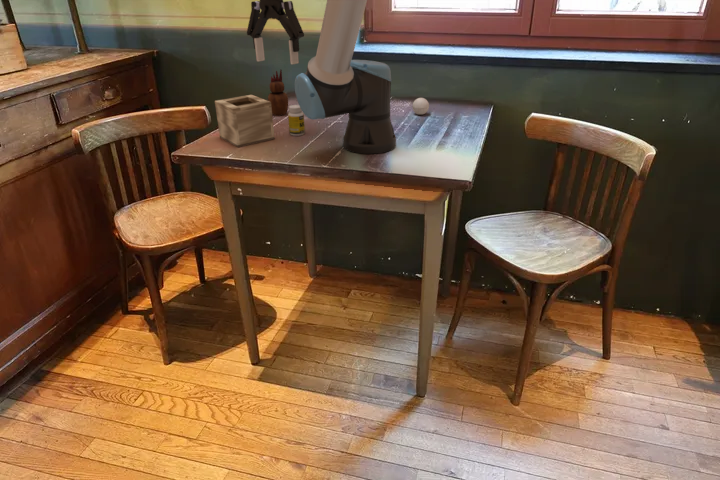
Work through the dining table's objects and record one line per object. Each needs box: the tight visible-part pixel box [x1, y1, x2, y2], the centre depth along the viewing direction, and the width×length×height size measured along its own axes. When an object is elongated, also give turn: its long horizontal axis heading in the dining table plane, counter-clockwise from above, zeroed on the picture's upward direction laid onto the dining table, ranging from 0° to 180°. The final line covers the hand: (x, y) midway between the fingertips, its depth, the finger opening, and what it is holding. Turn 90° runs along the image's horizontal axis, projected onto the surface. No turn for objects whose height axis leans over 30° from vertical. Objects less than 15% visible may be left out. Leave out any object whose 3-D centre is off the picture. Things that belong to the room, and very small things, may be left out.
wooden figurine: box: [267, 69, 289, 116], centre depth 174 cm, size 7×6×15 cm
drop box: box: [214, 94, 275, 148], centre depth 152 cm, size 12×12×11 cm
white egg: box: [411, 97, 430, 116], centre depth 173 cm, size 8×6×6 cm
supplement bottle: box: [287, 104, 306, 137], centre depth 156 cm, size 5×5×8 cm
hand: (277, 62), depth 152 cm, fingers open, 13 cm apart
